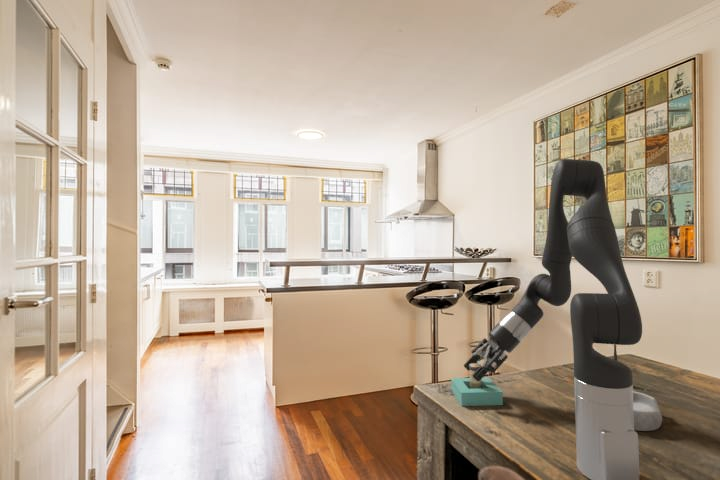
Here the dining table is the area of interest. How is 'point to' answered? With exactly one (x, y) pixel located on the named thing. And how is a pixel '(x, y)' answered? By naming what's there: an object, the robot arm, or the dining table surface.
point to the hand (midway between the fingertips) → (470, 373)
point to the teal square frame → (476, 392)
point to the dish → (646, 412)
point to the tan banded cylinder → (473, 382)
